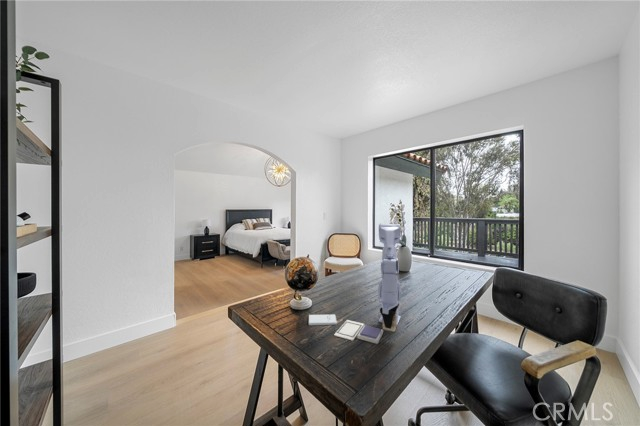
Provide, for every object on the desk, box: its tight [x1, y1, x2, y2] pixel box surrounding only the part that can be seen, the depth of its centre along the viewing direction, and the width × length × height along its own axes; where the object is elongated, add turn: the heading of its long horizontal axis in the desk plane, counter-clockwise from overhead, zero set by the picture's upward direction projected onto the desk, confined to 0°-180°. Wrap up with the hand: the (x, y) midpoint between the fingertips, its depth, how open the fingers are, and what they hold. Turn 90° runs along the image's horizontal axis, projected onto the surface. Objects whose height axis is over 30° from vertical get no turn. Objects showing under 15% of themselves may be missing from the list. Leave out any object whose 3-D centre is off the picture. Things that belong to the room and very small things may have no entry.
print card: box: [333, 319, 365, 342], centre depth 99 cm, size 14×8×1 cm, turn 151°
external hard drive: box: [308, 314, 338, 326], centre depth 108 cm, size 2×8×12 cm
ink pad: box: [356, 324, 384, 345], centre depth 95 cm, size 9×8×2 cm
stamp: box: [382, 315, 398, 334], centre depth 91 cm, size 4×4×5 cm
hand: (389, 324), depth 91 cm, fingers closed on stamp, 4 cm apart
